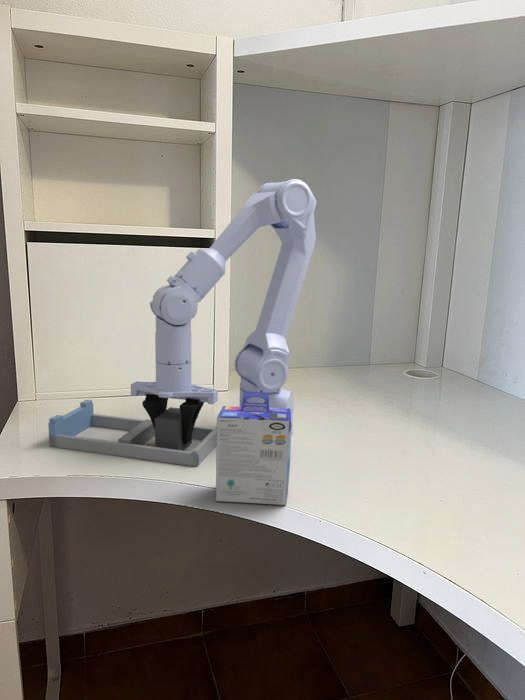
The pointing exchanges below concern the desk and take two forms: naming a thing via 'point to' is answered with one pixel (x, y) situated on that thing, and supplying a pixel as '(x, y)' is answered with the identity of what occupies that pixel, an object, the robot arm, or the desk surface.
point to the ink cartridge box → (253, 452)
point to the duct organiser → (124, 437)
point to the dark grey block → (170, 430)
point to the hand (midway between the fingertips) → (174, 440)
